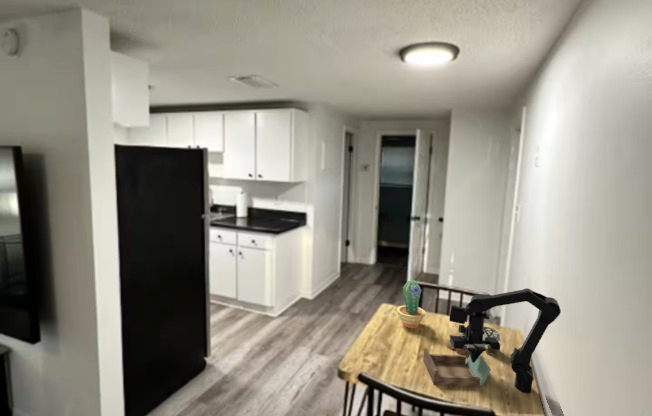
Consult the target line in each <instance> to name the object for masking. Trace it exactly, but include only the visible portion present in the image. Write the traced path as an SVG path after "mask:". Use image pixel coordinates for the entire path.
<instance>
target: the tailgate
mask: <svg viewBox="0 0 652 416" xmlns="http://www.w3.org/2000/svg"><path fill="white" fill-rule="evenodd" d="M465 364H466V366H467V367H468V369H469V370H470V372H471V373H472V375H474V376H473V377H480V386H484V384H485V382H486V380H487V379H488V377H489V375H490V372H491V371H492V368H490V366H489V365H488V364H487V362H486V361H485V359H484V358H483V356H482V354H481V355H480V356H479V357H478V359H477V360H476V361H475V363H473V362H472V360H471V357H470V355H469V356H468V358H467V359H466V363H465Z"/></svg>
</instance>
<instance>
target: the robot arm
mask: <svg viewBox="0 0 652 416" xmlns="http://www.w3.org/2000/svg"><path fill="white" fill-rule="evenodd" d="M524 302H527V303H528V304H531V305H532V306H533V307H535V308H536V309H537V310H538V313H537V318H536V319H535V322H534V323H533V325H532V326H531V329H530V331H529V332H528V335H526V337H525V340H524V342H523V344H522V345H521V347H519V348H517V347H514V348H513V352H512V353H511V354H510V363H511V364H510V366H511V367H510V368H511V371H513V372H514V373H515V376H514V387H515V389H517V390H518V391H520V392H521V393H522V394H525V393H526V394H532V387H533V381H534V379H535V378H534V370H533V367H532V366H531V360H532V357H533V354H534V352H535V350H536V348H537V347H538V345H539V343H540V341H541V340H542V338H543V336H544V333H545V332H546V330H547V329H548V327H549V325H551V324H552V323H553V322H555V321H556V320H557V319H558V317H559V316H560V315H561V312H562V310H561V308H560V305H559V302H558V301H557V299H555V298H553V297H549V296H545V295H544V294H541V293H539V292H536V291H534V290H532V289H530V288H524V289H519V290H513V291H508V292H503V293H496V294H492V295H491V294H482V293H481V294H474V295H472V296H471V298H470V301H469V302H468V304H466V306H465V307H464V306H463V307H462V306H457V305H455V304H451V307H450V312H449V313H450V314H449V322H452V323H456V324H458V333H460V334H463V335H465V337H466V338H467V340H465V339H462V338H461V337H460V335H456V336H451V337H450V343H451V344H452V346H453V347H454V348H459V349H462V348H463V347H464V346H465V347H466V348H467V350H468V351H469V353H468V354H469V356H470V357H471V360H472V362H473V363H475V361H476V360H477V359H478V357H479V356H480V355H481V356H482V354H483V353H484V352H486V349H485V348H484V346H485V345H491V348H492V349H493V350H496V351H500V350H501V343H500V342H499V341H497V340H496V339H495V338H494V337H486V338H485V340H483V334H484V333H485V332H484V331H483V329H484V326H485V320H489V319H490V314H489V313H488V312H487V311H489V310H491V309H492V308H495V307H500V306H506V305H512V304H518V303H524ZM467 322H468V325H467V326H465V325H464V324H466V323H467Z"/></svg>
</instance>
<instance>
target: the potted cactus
mask: <svg viewBox="0 0 652 416" xmlns="http://www.w3.org/2000/svg"><path fill="white" fill-rule="evenodd" d="M421 293H422V289H421V287H420V285H419V284H418V282H417V281H416V280H415V279H413V280H412V279H410V280H408V281H407V282H406V283H405V284H404V285H403V287H402V295H403V298H404V302H405V305H400V306H398V307H397V308H396V310H397V314H398V316H399V317H398V318H399V319H400V321H401V325H402V326H403V327H404V326H405V328H407V327H408V328H407V329H418V328H419V324H421V322H422V321H423V319H424V318H425V316H426V311H425V309H423V308H421V307H419V301H420V298H421Z"/></svg>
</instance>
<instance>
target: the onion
mask: <svg viewBox="0 0 652 416" xmlns="http://www.w3.org/2000/svg"><path fill="white" fill-rule="evenodd" d="M451 336H457V335H456V334H454V333H450V334H449V335H448V336H447V337H446V338H445V341H444V343H445V346H446V347H447V348H449V349H451V350H455V351H456V348H454V347H453V346H452V344H451V343H450V337H451Z"/></svg>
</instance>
